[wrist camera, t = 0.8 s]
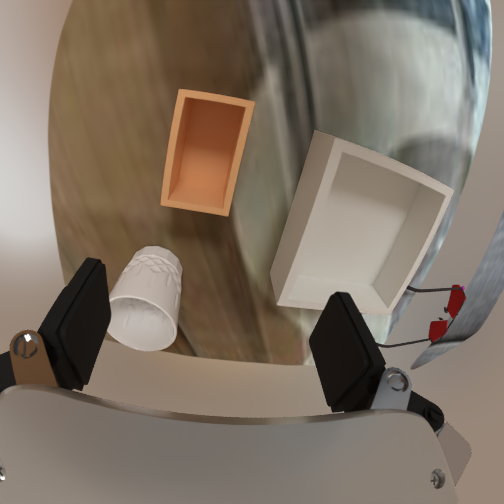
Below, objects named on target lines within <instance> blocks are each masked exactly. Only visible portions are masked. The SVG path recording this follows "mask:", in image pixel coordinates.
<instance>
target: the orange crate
mask: <svg viewBox="0 0 504 504" xmlns="http://www.w3.org/2000/svg"><path fill="white" fill-rule="evenodd" d="M254 106H255V102H254V101H249V100H245V99H240V98H235V97H230V96H224V95H218V94H212V93H206V92H199V91H192V90H184V89H179V92H178V97H177V101H176V106H175V111H174V116H173V122H172V127H171V133H170V138H169V144H168V151H167V157H166V164H165V171H164V179H163V187H162V195H161V205H162V206H169V207H175V208H181V209H187V210H193V211H199V212H205V213H211V214H217V215H222V216H228V215H229V211H230V206H231V202H232V197H233V193H234V188H235V184H236V180H237V175H238V171H239V167H240V162H241V158H242V154H243V150H244V146H245V142H246V138H247V134H248V129H249V125H250V122H251V118H252V114H253V110H254Z"/></svg>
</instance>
